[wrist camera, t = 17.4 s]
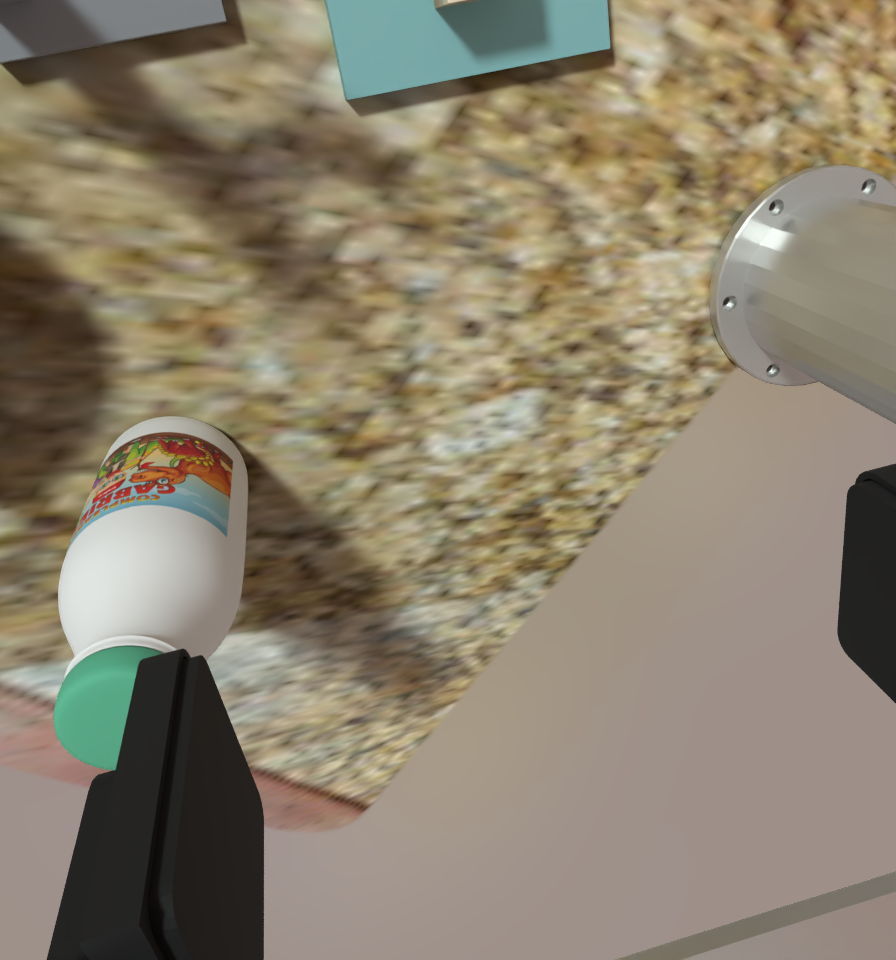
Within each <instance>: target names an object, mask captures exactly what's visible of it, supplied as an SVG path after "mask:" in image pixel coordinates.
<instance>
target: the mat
mask: <svg viewBox="0 0 896 960" xmlns="http://www.w3.org/2000/svg"><path fill="white" fill-rule="evenodd" d="M325 4H326V9H327V14H328V18H329V23H330V28H331V33H332V38H333V43H334V47H335V52H336V57H337V62H338V67H339V71H340V76H341V81H342V86H343V91H344V96H345V100H351V99H356V98H361V97H366V96H371V95H376V94H381V93H386V92H391V91H396V90H401V89H406V88H411V87H417V86H422V85H427V84H432V83H437V82H442V81H447V80H452V79H457V78H462V77H467V76H472V75H478V74H483V73H488V72H493V71H498V70H503V69H508V68H513V67H518V66H523V65H528V64H533V63H538V62H544V61H549V60H554V59H559V58H564V57H569V56H574V55H579V54H584V53H589V52H594V51H599V50H604V49H610V34H609V19H608V4H607V0H478V1H473V2H468V3H463V4H457V5H452V6H447V7H442V8H436V9H435V7H434V0H325Z"/></svg>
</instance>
